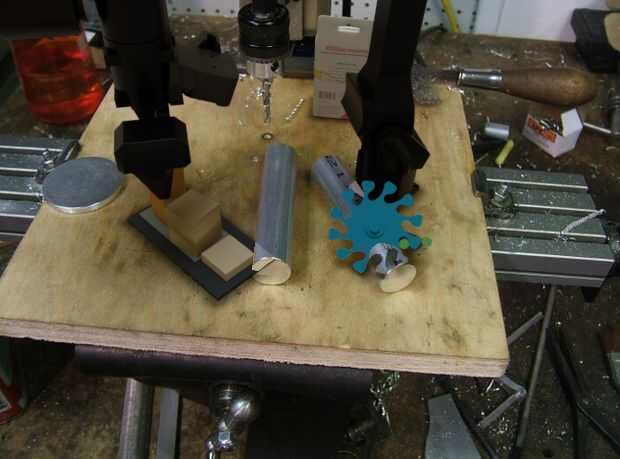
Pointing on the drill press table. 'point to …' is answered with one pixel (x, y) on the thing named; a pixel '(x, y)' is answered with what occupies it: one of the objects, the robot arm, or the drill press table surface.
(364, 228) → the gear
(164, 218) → the supplement box
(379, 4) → the robot arm
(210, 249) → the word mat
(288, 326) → the drill press table surface
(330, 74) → the ink cartridge box
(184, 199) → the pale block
